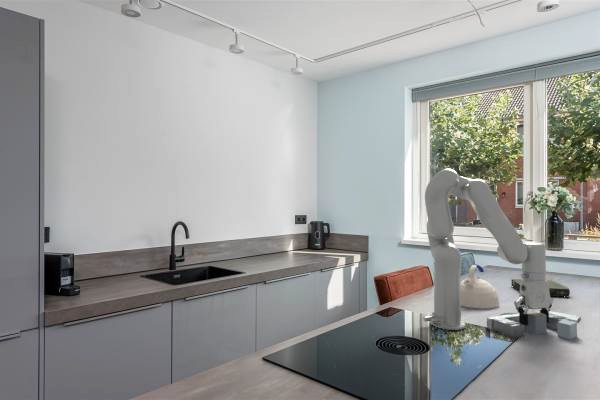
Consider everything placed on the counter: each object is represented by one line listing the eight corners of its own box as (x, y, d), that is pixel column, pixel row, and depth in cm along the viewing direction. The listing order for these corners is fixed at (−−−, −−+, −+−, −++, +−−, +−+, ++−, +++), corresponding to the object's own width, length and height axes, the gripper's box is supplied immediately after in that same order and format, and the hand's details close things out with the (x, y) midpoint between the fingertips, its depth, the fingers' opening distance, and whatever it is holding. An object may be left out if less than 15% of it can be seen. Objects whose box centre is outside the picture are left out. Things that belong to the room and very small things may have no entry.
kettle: (444, 303, 181) (444, 265, 181) (461, 295, 196) (461, 260, 197) (491, 311, 167) (490, 270, 168) (505, 302, 183) (504, 264, 183)
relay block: (570, 339, 133) (570, 324, 133) (557, 336, 137) (557, 321, 137) (577, 336, 136) (576, 322, 136) (564, 333, 139) (564, 319, 140)
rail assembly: (511, 337, 135) (511, 325, 135) (486, 327, 146) (486, 316, 146) (572, 329, 143) (571, 318, 143) (544, 320, 154) (544, 310, 154)
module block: (535, 334, 139) (535, 315, 139) (521, 329, 144) (521, 311, 145) (546, 332, 140) (546, 314, 140) (532, 327, 146) (532, 310, 146)
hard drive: (580, 315, 157) (545, 309, 166) (577, 320, 151) (540, 313, 160) (580, 320, 157) (545, 313, 166) (577, 324, 151) (540, 317, 160)
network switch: (550, 288, 214) (550, 279, 214) (576, 298, 191) (576, 288, 191) (506, 287, 216) (506, 278, 217) (526, 297, 193) (526, 287, 193)
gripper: (523, 279, 136) (524, 328, 136) (561, 276, 141) (561, 323, 141) (506, 275, 144) (507, 322, 143) (542, 273, 149) (543, 318, 148)
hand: (534, 323), depth 142 cm, fingers open, 9 cm apart
